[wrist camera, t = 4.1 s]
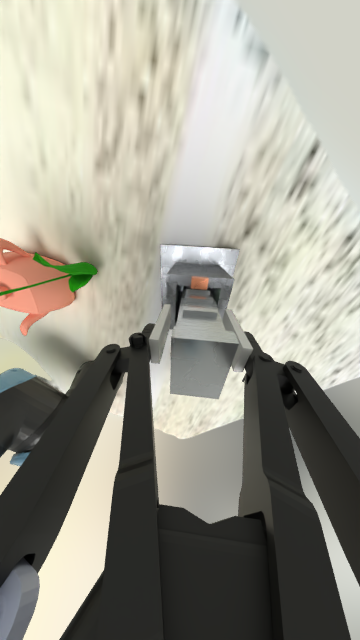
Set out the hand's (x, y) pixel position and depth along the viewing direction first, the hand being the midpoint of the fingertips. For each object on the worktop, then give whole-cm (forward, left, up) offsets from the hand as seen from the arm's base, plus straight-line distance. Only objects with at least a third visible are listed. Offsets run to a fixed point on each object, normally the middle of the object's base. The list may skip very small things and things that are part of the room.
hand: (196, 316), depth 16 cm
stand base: (0, 0, -14) cm, 14 cm away
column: (0, 0, -13) cm, 13 cm away
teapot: (-33, -2, -15) cm, 36 cm away
